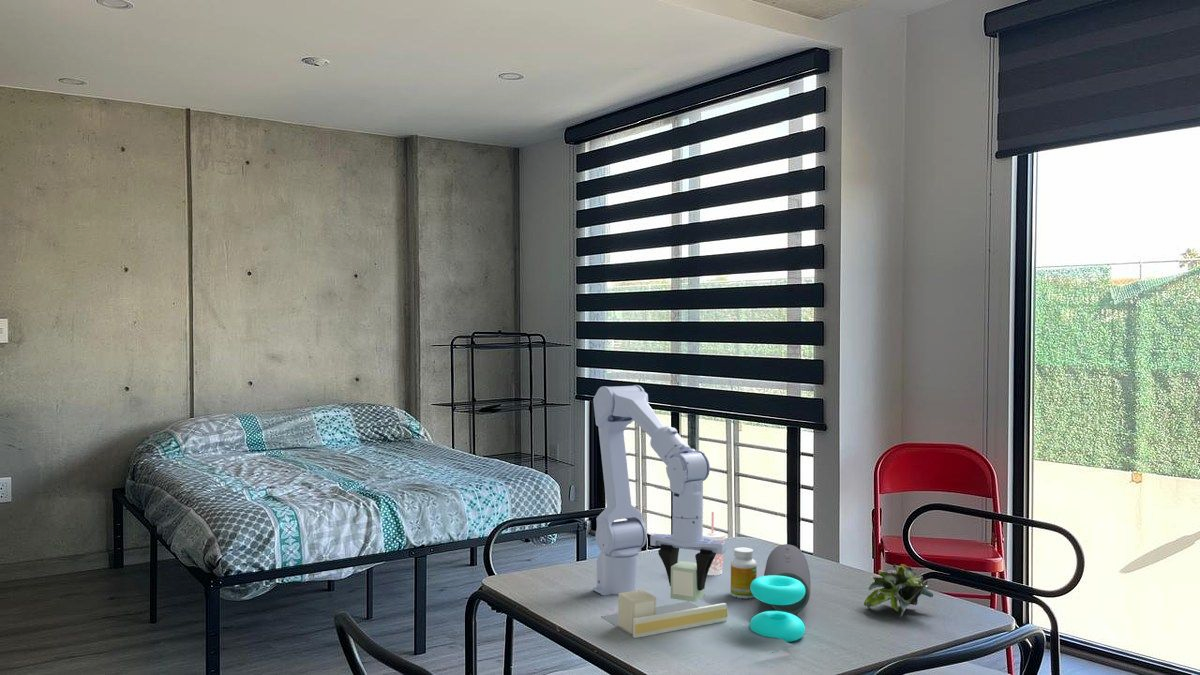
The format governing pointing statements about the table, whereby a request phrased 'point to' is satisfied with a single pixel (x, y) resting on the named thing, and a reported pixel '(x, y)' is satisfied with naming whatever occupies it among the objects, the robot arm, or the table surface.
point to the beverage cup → (718, 560)
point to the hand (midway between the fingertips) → (687, 587)
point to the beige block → (634, 607)
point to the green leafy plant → (898, 588)
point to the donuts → (778, 593)
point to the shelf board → (674, 618)
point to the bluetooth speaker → (790, 573)
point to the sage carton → (685, 582)
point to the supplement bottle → (742, 572)
